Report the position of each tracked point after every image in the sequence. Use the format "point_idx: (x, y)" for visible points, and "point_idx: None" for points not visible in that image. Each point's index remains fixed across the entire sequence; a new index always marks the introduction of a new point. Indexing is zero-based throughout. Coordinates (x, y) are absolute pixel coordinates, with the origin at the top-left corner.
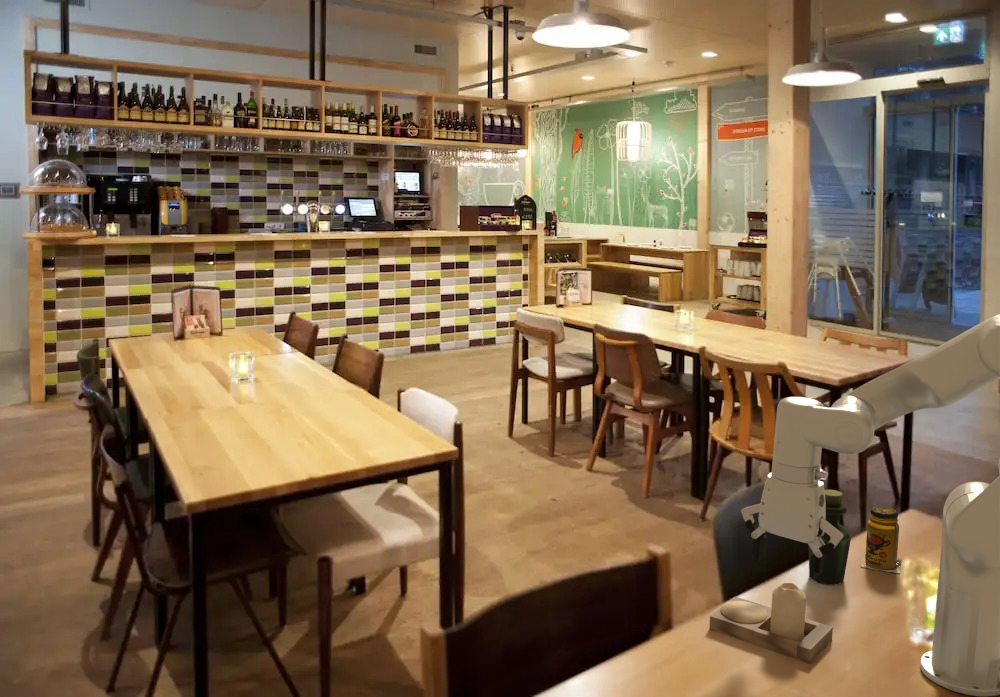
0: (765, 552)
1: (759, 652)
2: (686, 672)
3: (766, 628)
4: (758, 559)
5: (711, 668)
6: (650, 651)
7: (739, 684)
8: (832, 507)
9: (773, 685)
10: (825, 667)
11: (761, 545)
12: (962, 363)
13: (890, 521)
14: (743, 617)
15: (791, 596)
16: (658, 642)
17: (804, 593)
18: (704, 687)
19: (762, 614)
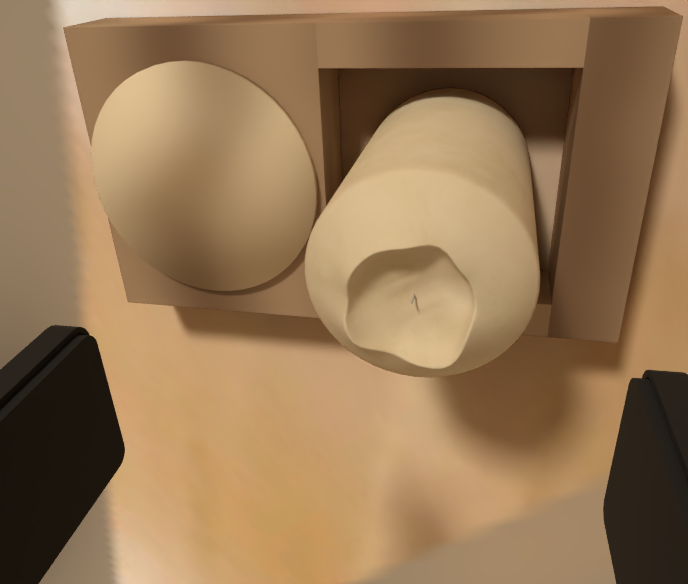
0: (69, 362)
1: None
2: (279, 536)
3: (335, 165)
4: (116, 469)
5: (320, 492)
6: (137, 490)
7: (432, 529)
8: None
9: (527, 493)
10: (681, 292)
11: (30, 536)
12: None
13: None
14: (236, 248)
15: (460, 367)
16: None
17: (512, 231)
18: (359, 576)
19: (284, 160)
